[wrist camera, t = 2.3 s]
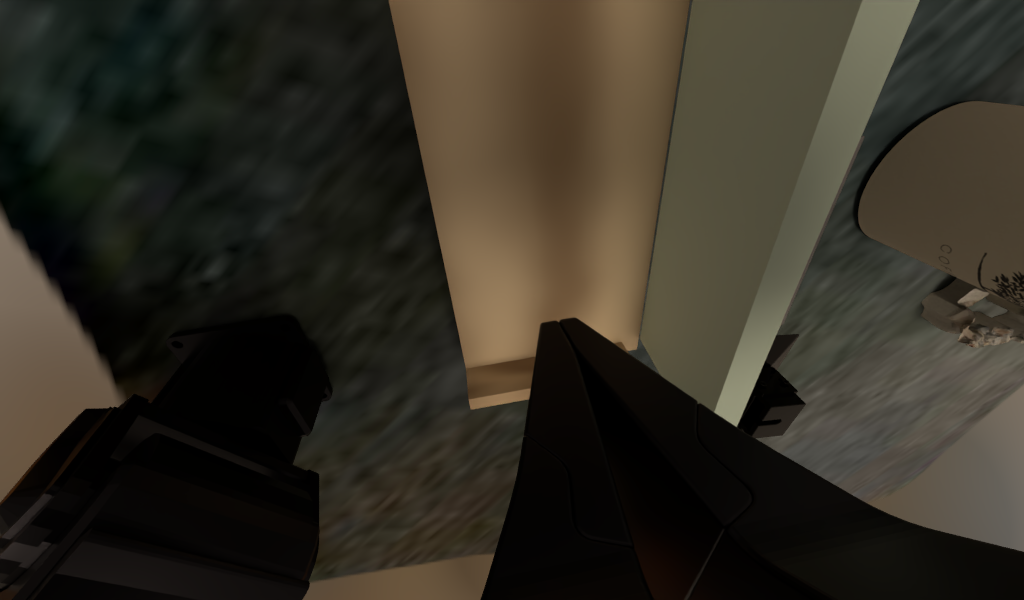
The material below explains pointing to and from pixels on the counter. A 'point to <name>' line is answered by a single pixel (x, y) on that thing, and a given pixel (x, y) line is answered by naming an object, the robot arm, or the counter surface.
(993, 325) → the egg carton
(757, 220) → the panel
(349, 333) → the counter surface
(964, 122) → the travel mug
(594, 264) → the cart bed
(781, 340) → the build plate
